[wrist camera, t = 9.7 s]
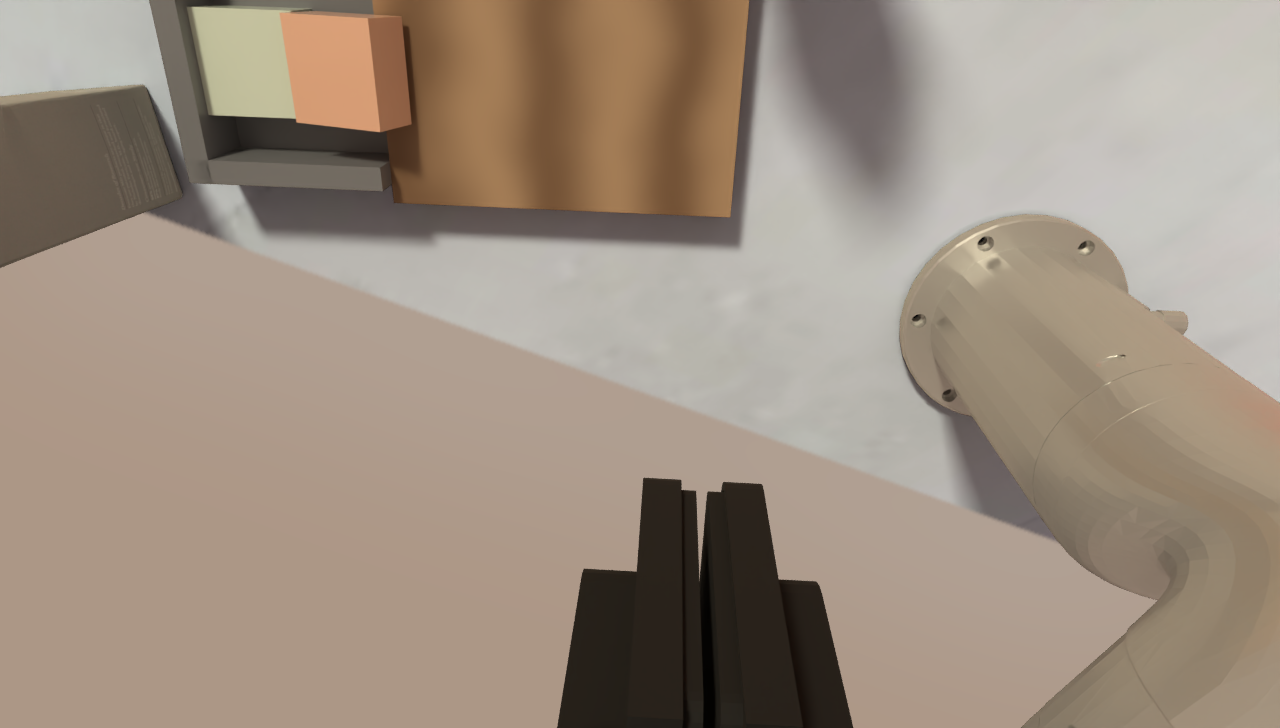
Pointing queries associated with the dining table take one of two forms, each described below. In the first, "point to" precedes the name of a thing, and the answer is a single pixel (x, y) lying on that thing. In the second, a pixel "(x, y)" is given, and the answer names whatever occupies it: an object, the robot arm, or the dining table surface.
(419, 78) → the walnut plate
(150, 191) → the skincare box
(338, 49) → the tile
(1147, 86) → the dining table surface
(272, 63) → the tile
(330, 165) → the box
